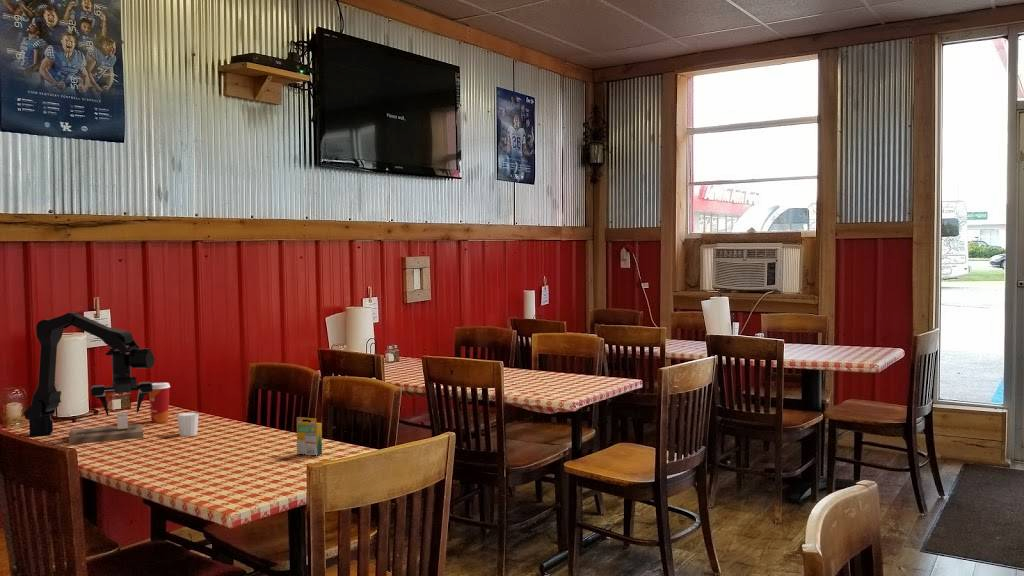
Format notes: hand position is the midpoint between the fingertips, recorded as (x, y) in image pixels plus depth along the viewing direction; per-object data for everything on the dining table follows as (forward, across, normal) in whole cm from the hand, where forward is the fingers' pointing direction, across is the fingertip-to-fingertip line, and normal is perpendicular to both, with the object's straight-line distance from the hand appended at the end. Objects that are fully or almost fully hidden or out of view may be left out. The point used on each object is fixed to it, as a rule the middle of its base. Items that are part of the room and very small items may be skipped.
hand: (122, 413), depth 278 cm
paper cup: (+8, +13, +19) cm, 24 cm away
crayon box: (+8, +50, -57) cm, 76 cm away
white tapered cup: (+8, +20, -9) cm, 23 cm away
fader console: (+7, -5, 0) cm, 9 cm away
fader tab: (+5, 0, 0) cm, 5 cm away
